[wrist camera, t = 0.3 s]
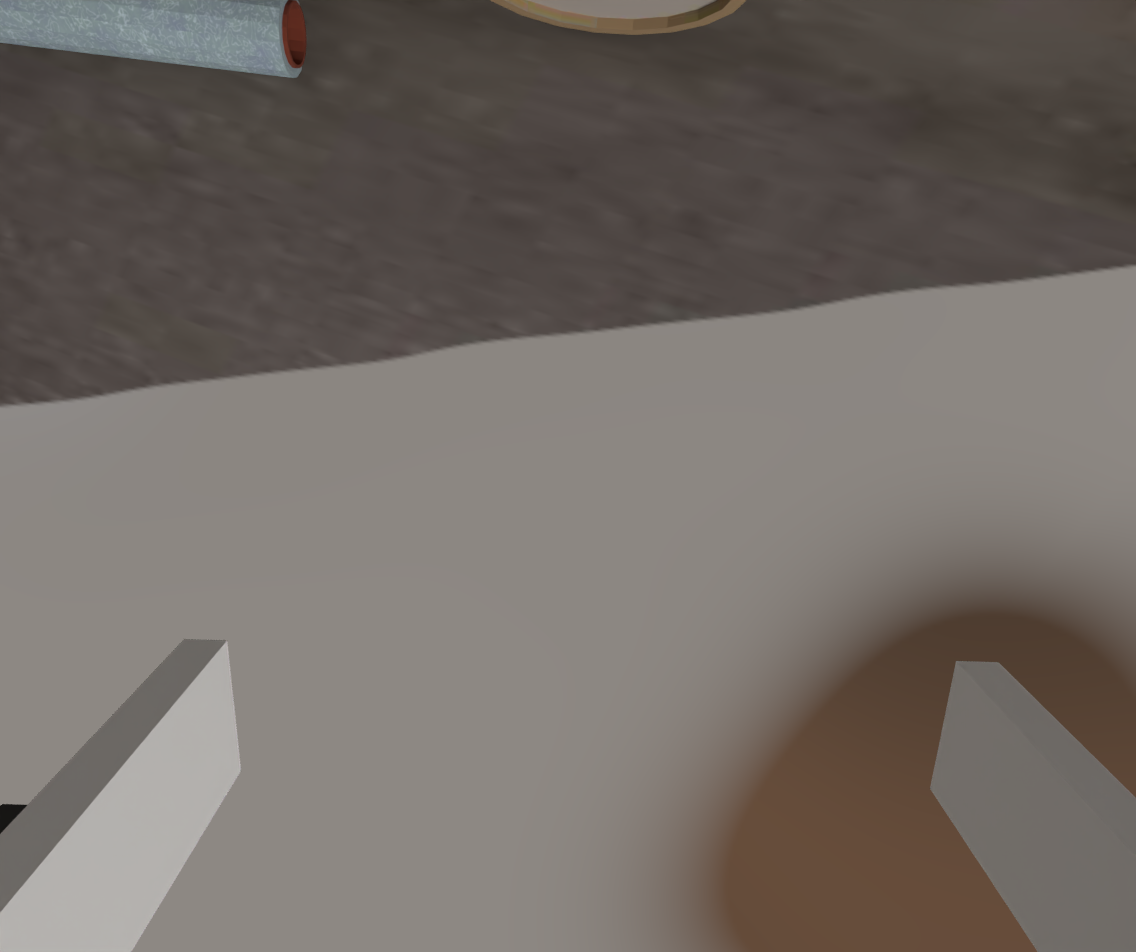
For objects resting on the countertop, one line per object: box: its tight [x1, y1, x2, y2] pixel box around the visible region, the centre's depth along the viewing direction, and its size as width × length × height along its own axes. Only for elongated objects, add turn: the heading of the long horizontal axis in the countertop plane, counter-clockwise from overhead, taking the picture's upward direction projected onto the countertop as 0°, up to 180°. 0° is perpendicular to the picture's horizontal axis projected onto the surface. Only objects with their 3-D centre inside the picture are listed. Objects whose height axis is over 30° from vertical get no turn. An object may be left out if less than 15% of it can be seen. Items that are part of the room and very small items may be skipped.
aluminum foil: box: [0, 0, 306, 78], centre depth 34 cm, size 23×7×3 cm, turn 84°
